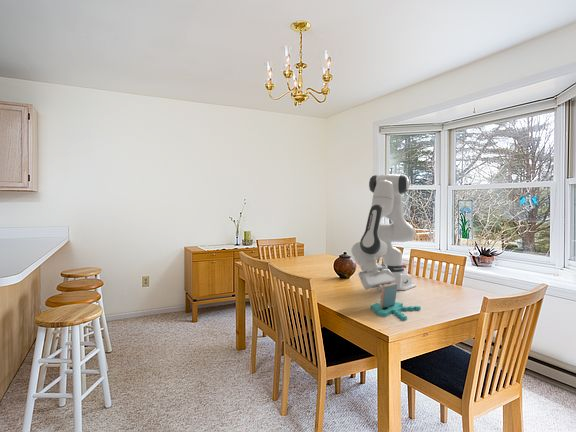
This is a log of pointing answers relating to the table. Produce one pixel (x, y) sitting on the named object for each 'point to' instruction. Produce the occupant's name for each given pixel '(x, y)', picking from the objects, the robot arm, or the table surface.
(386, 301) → the tile
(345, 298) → the table surface
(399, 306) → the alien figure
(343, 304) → the table surface
